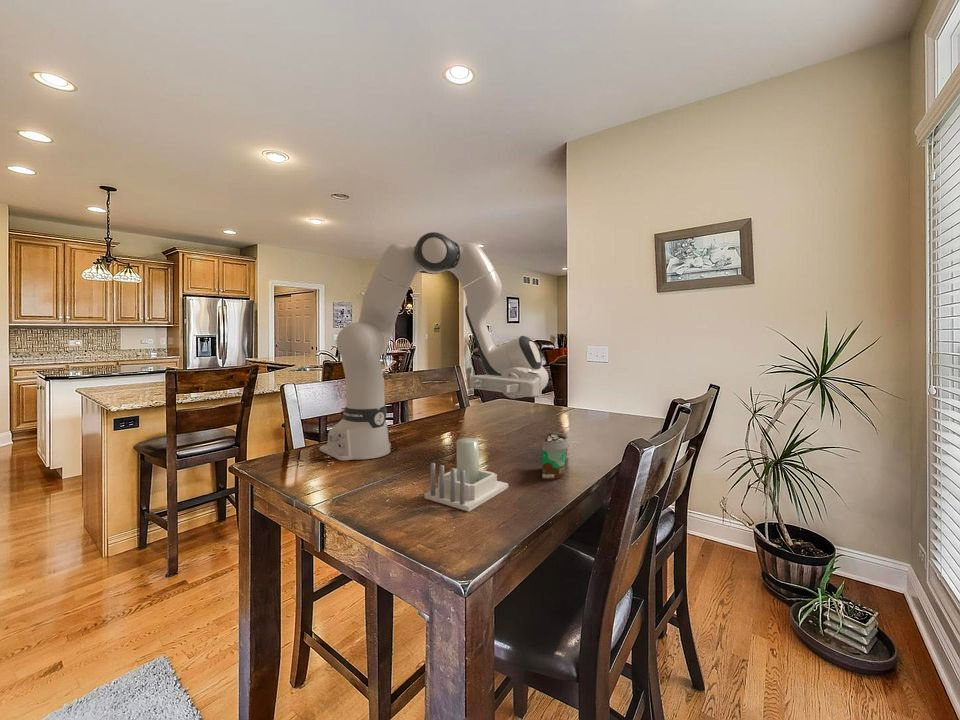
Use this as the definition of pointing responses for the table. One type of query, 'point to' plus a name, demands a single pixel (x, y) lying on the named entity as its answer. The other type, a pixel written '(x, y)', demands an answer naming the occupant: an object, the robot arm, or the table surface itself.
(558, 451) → the food container
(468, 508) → the dish rack
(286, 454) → the table surface
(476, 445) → the pale green canister
